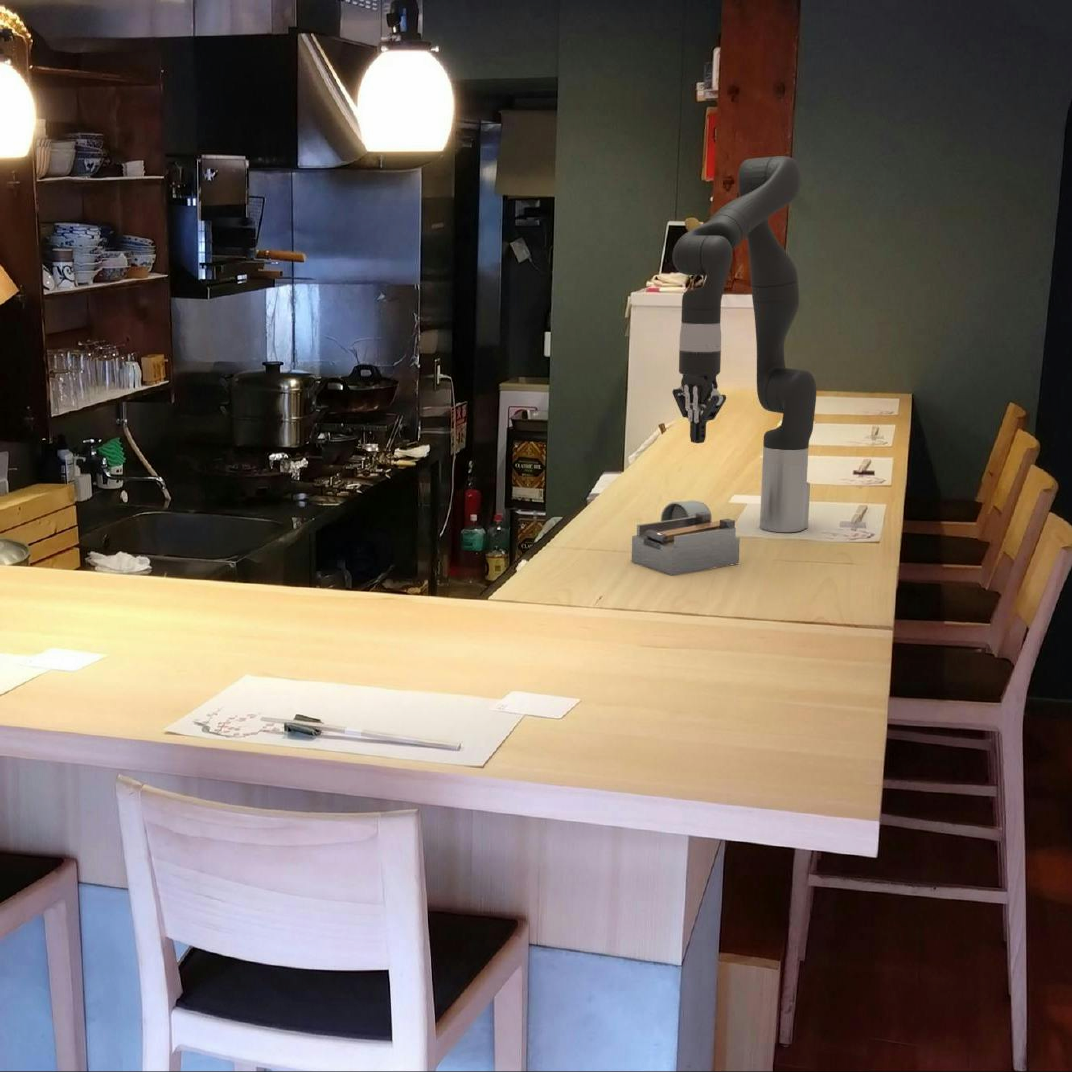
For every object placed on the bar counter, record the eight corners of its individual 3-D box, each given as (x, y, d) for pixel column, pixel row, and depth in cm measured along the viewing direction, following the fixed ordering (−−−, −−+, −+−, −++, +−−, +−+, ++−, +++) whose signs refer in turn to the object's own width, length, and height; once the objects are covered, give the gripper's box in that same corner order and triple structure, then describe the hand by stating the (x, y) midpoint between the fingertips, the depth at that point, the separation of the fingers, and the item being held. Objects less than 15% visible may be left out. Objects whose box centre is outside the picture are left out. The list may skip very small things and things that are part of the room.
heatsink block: (697, 550, 262) (698, 510, 260) (738, 563, 252) (740, 522, 250) (631, 561, 253) (632, 520, 251) (671, 575, 243) (673, 532, 241)
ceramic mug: (714, 536, 274) (714, 499, 272) (689, 543, 268) (689, 505, 267) (673, 529, 281) (673, 493, 279) (648, 535, 275) (648, 498, 274)
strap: (715, 525, 258) (715, 517, 257) (730, 529, 254) (730, 521, 254) (645, 538, 249) (645, 530, 248) (660, 543, 245) (660, 534, 245)
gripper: (740, 349, 241) (736, 445, 245) (692, 344, 252) (690, 436, 256) (708, 352, 237) (705, 449, 241) (661, 346, 248) (659, 439, 252)
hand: (697, 442), depth 248 cm, fingers closed
